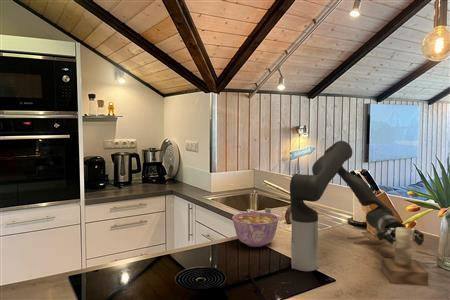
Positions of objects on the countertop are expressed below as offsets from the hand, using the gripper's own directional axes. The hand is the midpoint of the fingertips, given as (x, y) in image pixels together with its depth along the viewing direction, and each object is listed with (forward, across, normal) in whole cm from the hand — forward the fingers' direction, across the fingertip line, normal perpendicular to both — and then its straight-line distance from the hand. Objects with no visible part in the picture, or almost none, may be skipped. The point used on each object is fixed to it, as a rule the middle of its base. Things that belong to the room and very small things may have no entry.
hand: (406, 241), depth 113 cm
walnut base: (-2, 0, +12) cm, 13 cm away
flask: (-51, -47, +13) cm, 70 cm away
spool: (-2, 0, +8) cm, 9 cm away
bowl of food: (-28, -51, +13) cm, 60 cm away
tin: (-66, -34, +13) cm, 75 cm away
